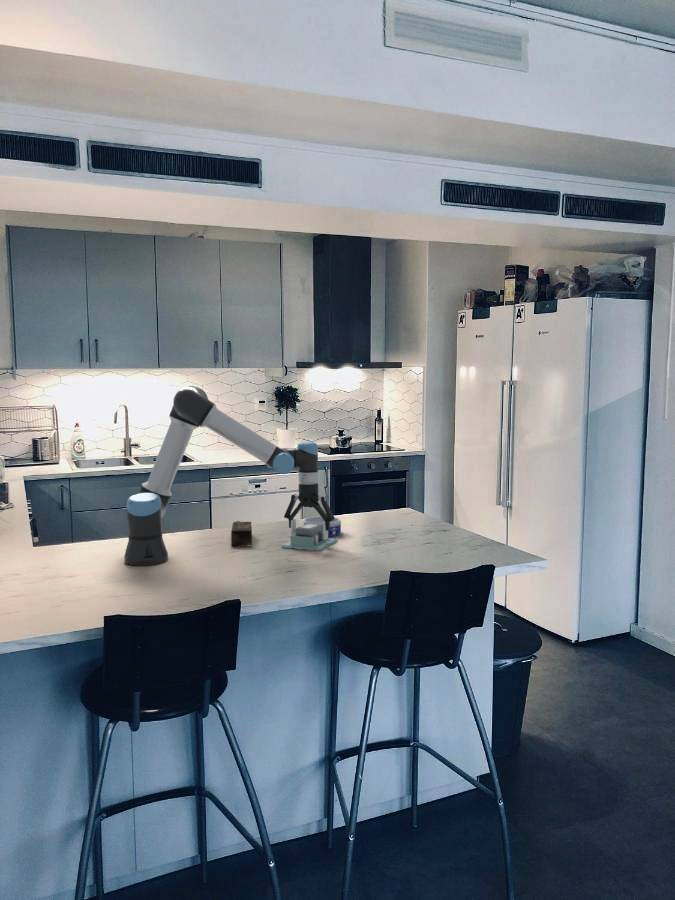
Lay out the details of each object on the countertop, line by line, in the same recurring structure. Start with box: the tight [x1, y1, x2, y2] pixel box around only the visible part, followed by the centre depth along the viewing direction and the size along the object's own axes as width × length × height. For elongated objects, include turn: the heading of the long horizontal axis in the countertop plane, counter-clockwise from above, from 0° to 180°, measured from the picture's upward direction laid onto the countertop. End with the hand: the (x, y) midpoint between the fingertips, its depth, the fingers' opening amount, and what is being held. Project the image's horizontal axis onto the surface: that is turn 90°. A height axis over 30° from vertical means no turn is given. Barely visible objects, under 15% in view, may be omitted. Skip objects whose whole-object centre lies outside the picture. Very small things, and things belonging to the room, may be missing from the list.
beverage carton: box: [230, 520, 253, 547], centre depth 286 cm, size 8×19×7 cm, turn 6°
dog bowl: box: [303, 515, 342, 538], centre depth 297 cm, size 15×15×6 cm
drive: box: [296, 523, 323, 544], centre depth 278 cm, size 10×6×6 cm, turn 154°
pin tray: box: [281, 532, 338, 552], centre depth 278 cm, size 16×16×4 cm
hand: (309, 537), depth 278 cm, fingers open, 13 cm apart
